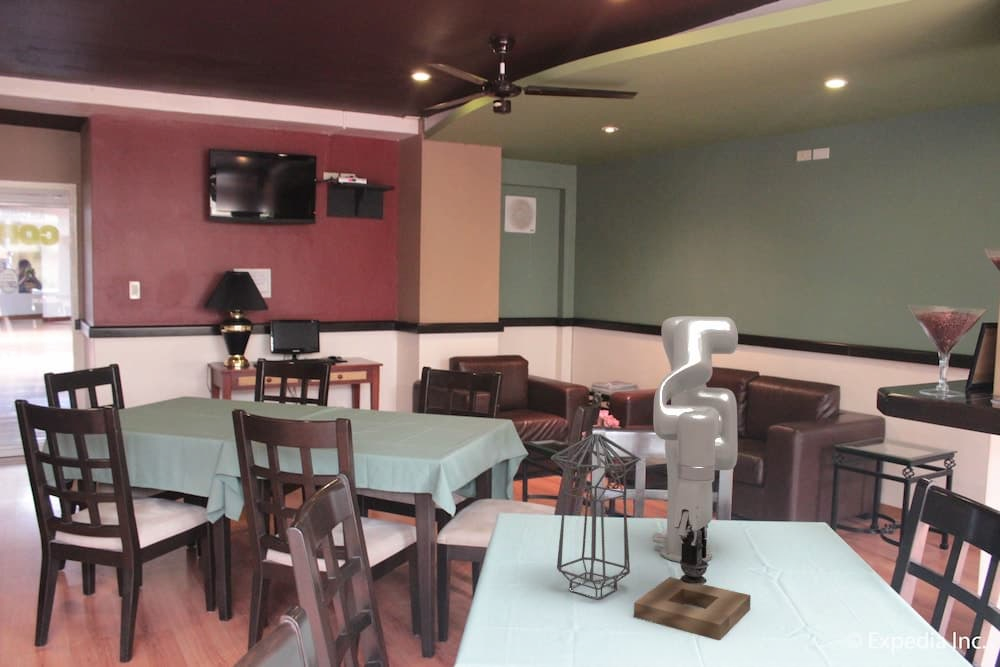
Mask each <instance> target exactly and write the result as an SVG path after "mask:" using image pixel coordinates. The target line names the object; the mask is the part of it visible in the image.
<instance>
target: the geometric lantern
mask: <svg viewBox="0 0 1000 667" xmlns="http://www.w3.org/2000/svg"><path fill="white" fill-rule="evenodd" d="M591 444H592V445H591ZM609 444H610V445H609ZM590 446H591V447H590ZM611 446H613V447H614V448H615V449H618V450H620V451H621V452H623V453H624V454H627V455H628V456H626V455H625V456H624V455H623V456H621V455H619V454H618V453H617V452H616V451H615V449H614V448H612V447H611ZM575 447H577V448H576V449H575V450H574V451H573V452H571V453H570V454H569V455H567V456H566V455H565V456H564V455H563V454H565V453H567V452H568V451H570V450H571V449H573V448H575ZM600 447H601V448H602V451H603V452H600ZM589 448H590V449H589ZM594 449H595V450H594ZM588 452H589V453H590V452H591V454H593V455H594V456H595V457H596V463H597V464H582V463H583V461H584V459H585V458H586V455H587V453H588ZM601 456H602V457H604V459H605V461H604V460H603V458H601ZM578 458H579V460H578ZM550 459H551V461H553V462H554V463H556V464H557V466H558V467H560V468H561V469H562V470H563V472H565V474H566V476H565V484H564V488H563V490H562V509H561V523H560V532H559V541H558V543H559V544H558V551H557V553H558V554H557V560H556V570H558V572H559V573H561V574H562V575H563V577H564V578H566V579H567V580H568V582H569V584H568V585H569V586H568V589H569V588H571V590H573V589H572V587H573V584H574V585H577V584H579V585H578V586H583V587H585V588H586V587H587V588H589V589H594V590H595V596H592V595H589V594H587V593H582V592H581V593H582V594H585V595H588V596H591V597H594V598H602V599H604V598H605V597H607V596H609V595H610V593H611V594H613V593H615V592H616V591H618V590H617V589H618V582H619V581H621V579H623V578H625V577H627V575H629V574H630V573H631V568H630V567H631V566H630V551H629V550H630V549H629V548H630V547H629V534H628V516H627V481H626V476H627V475H626V474H628V472H630V470H632V468H633V467H634V466H636V464H638V462H639V461H642V458H640V457H639V456H637V455H636V454H633V452H630V451H629V450H627V449H625V448H624V447H622V446H621V445H619V444H618V443H616V442H614V441H613V440H611V439H609V438H608V437H606V436H604V435H603V434H601V433H599V434H598V433H592V434H590V435H588V436H587V437H585V438H584V439H583V438H582V440H580V441H578V442H576V443H574V444H572V445H570V446H568V447H566V448H564V449H563V450H561V451H558V452H556V453H555V454H553V455H552V456H551V457H550ZM625 459H626V460H627V459H629V461H627V462H626V463H624V462H623V460H625ZM608 460H609V461H608ZM614 461H616V462H619V464H615V463H614ZM609 462H610V463H609ZM565 463H566V464H567V465H566V464H565ZM602 464H603V465H604V466H602ZM630 464H631V465H630ZM571 465H574V466H571ZM629 465H630V466H629ZM628 466H629V467H628ZM627 467H628V468H627ZM580 468H591V469H589V470H587V471H586V472H584V473H582V474H581V471H580V470H581V469H580ZM599 468H600V469H605V470H604V473H602V476H601V477H600V478H599V480H598V481H597V483H596V484H595V485H588V483H587V482H586V480H585V479H584V477H585V476H587V475H589V474H590V473H592V472H594V471H596V470H598V469H599ZM571 470H576V472H577V473H578V475H577V474H575V475H572V474H571ZM622 470H623V473H622V474H621V475H619V472H621V471H622ZM612 471H615V475H614V473H613V472H612ZM607 473H609V475H610V476H611V477H612V478H611V479H610V480H609V482H608V483H607V485H606V487H602V486H599V485H600V484H601V482H602V481H603V479H604V478H605V476H606V474H607ZM570 478H571V479H573V478H575V479H581V482H582V483H583V485H584V486H580V487H576V488H573V489H569V490H568V483H569V480H570ZM621 479H623V488H622V484H621V483H622V482H621V481H620V480H621ZM613 480H614V481H618V485H619V488H620V490H617V489H612V488H608V487H609V486H610V484H611V482H612V481H613ZM583 489H586V492H585V495H586V496H585V497H583V496H580V495H575V494H571V493H570V492H574V491H578V490H583ZM590 489H594V494H593V493H592V491H591V490H590ZM597 489H599V490H603V491H602V492H601V494H600V495H599V497H598V496H597ZM606 491H610V492H616V493H620V494H621V495H618V496H613V497H609V498H606V499H601V498H602V497H603V495H604V493H605V492H606ZM567 496H569V497H574V498H577V499H581V500H585V507H584V508H585V509H584V521H583V523H584V524H583V538H582V550H581V551H582V552H581V557H580V558H577V559H574V560H571V561H569V562H566V563H563V548H564V547H563V545H564V532H565V531H564V530H565V529H564V528H565V514H566V512H565V511H566V505H567V504H566V503H567V501H566V500H567ZM589 496H590V497H591V498H589ZM597 497H598V498H597ZM620 498H622V500H623V502H622V503H623V504H622V505H623V540H624V541H623V543H624V544H623V546H624V547H623V548H624V554H623V555H624V556H623V558H624V563H623V564H624V565H623V564H620V563H619V564H618V563H615V562H612V561H611V562H610V561H607V560H606V555H605V554H606V551H605V524H604V522H605V519H604V517H605V516H604V502H608V501H611V500H616V499H620ZM589 501H590V502H591V503H592V505H591V506H592V507H591V509H592V510H591V543H590V546H591V549H590V553H591V554H590V555H591V556H590V557H585V551H586V539H587V525H588V524H587V523H588V522H587V521H588V509H589V508H588V507H589ZM597 502H598V503H600V521H601V522H600V526H601V558H602V559H601V558H596V550H597V549H596V548H597V547H596V545H597V544H596V542H597ZM586 560H587V561H590V569H589V571H588V570H587V566H586V563H585V561H586ZM580 561H582V564H583V568H584V572H583V573H580V574H575V573H573V572H570V571H567V570H563V567H568V566H570V565H572V564H575V563H577V562H580ZM595 561H596V562H599V563H602V574H599V573H595V572H594V563H595ZM606 565H611V566H614V567H618V568H622V570H621V571H620V572H619V573H618V574H615V575H611V576H609V575H608V576H607V575H606ZM587 575H589V577H588V578H587ZM568 576H571V577H573V578H570V577H568ZM594 576H596V577H597V576H598V577H601V579H594ZM576 579H580V580H583V581H584V580H586V581H589V582H590V583H592V584H593V586H592V585H588V584H586V583H585V584H584V583H582V584H581V583H580V582H577V581H575V580H576ZM610 580H613V581H611V582H609V583H606V582H608V581H610ZM595 582H599V583H602V584H600V587H597V585H596V583H595ZM604 584H606V585H604ZM609 586H613V587H615V588H613V587H612V588H613V590H611V591H609V592H607V593H606V594H603V589H605V588H607V587H609ZM599 590H600V596H599V597H598V591H599ZM615 590H616V591H615ZM612 592H613V593H612ZM608 594H609V595H608ZM606 595H607V596H606ZM604 596H605V597H604ZM603 597H604V598H603ZM594 598H593V599H594Z"/></svg>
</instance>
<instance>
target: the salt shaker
mask: <svg viewBox="0 0 1000 667" xmlns="http://www.w3.org/2000/svg"><path fill="white" fill-rule="evenodd" d="M691 528H692V527H690V528H688V529H691ZM688 534H690V535H691V537H692V533H690V532H688ZM701 540H702V531H701V529H699V530H697V537H696V545H698V552H697V564H696V565H691V564H686V563H682V561H681V560H680V561H679V562H678V564H680V568H681V571H682V572H683V574H684V575H681V576H680V578H679V579H681V581H682V582H684V583H687V584H693V585H701V584H704V585H706V583H707V582H708V580H707V579H706V578H705V577H704V574H706V572H707V568H708V567H709V564H710V563H709V562H708V561H704V560H703V559H702V547H703V544H702V543H701Z"/></svg>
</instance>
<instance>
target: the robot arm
mask: <svg viewBox="0 0 1000 667" xmlns="http://www.w3.org/2000/svg"><path fill="white" fill-rule="evenodd" d="M661 339H662V340H661V341H662V345H663V348H664V351H665V354H666V357H667V360H668V362H669V365H670V372H669V373H668V374H667V375H666V376H665V377H664V378H663V379H662V380H661V382H660V383H659V385H658V386H657V388H656V389H655V390H656V391H655V392H654V393H655V394H654V399H653V417H652V418H653V430H654V433H655V435H656V436H657V437H658V438H659V439H661V440H664V453H665V460H666V470H667V505H666V506H667V509H666V510H667V512H666V513H667V515H666V518H667V519H666V521H667V522H666V523H667V524H666V533H665V534H664V533H661V532H655V531H654V532H653V533H652V542H653V543H657V544H661V545H662V546H661V547H660V550H659V552H660V555H661V556H662V557H663V558H665V559H667V560H670V561H673V562H676V563H677V562H678V563H679V561H680V560H681V561H682V563H686V564H691V565H696V564H697V552H698V545H696V537H697V530H699V529H701V531H702V540H701V543H702V544H703V547H702V559H703V560H704V561H706V562H708V561H710V560H711V559H712V557H713V552H712V551H711V549H709V548H707V543H708V542H707V538H708V528H709V527H708V526H709V525H708V524H710V523H711V521H712V520H713V504H714V503H713V499H714V497H713V483H714V481H715V472H716V471H730V470H732V469H734V468H735V466H736V465H737V461H738V453H739V452H738V449H739V448H738V447H739V446H738V406H737V399H736V396H735V394H734V392H733V391H732V390H730V389H729V388H724V387H708V386H707V383H708V382H709V381H710V380H711V378H712V375H713V362H712V361H713V359H712V355H732V354H734V353H735V352H736V350H737V348H738V342H739V341H738V340H739V334H738V329H737V325H736V323H735V321H734V320H733V319H732V318H730V317H728V316H697V315H696V316H695V315H693V316H692V315H691V316H689V315H688V316H687V315H686V316H685V315H683V316H674V317H668V318H666V319H665V320H664V321H663V322H662V325H661ZM670 400H671V401H670ZM669 401H670V402H671V403H670V404H667V403H668V402H669ZM690 527H692V528H691V529H688V528H690ZM688 532H690V533H692V537H691V535H690V534H688Z"/></svg>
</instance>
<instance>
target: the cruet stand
mask: <svg viewBox="0 0 1000 667" xmlns="http://www.w3.org/2000/svg"><path fill="white" fill-rule="evenodd" d="M751 597H752V596H751V594H746V593H743V592H738V591H734V590H729V589H726V588H721V587H717V586H712V585H707V584H701V585H693V584H687V583H684V582H682V581H681V579H680V578H676V577H672V576H669V577H668V578H666V579H664V580H663V581H662V582H661V583H659V584H658V585H656V586H655V587H653V588H652V589H651V590H650V591H648V592H647V593H646V594H644V595H642V596H641V597H640V598H639V599H637V600H636V601H634V602H633V617H634V618H636V617H637V618H636V619H639V618H641V619H640V620H643V619H645V620H644V621H647V620H648V621H647V622H650V621H652V623H654V622H656V623H655V624H658V625H662V624H663V625H662V626H665V625H666V627H669V626H670V627H669V628H673V629H676V630H681V631H684V632H688V633H692V634H696V635H699V636H703V637H707V638H711V639H715V640H718V641H720V640H722V638H723V637H724V636H725V635H726V634H727V633H729V631H731V629H732V628H733V627H735V626H736V624H737V623H738V622H739V621H740V620H742V618H743V617H744V616H745V615H746V614H747V613H748V612H749V611H750V610H751ZM682 603H683V604H682ZM687 604H688V605H687ZM690 605H692V606H690ZM694 606H695V607H694ZM702 608H703V609H702Z"/></svg>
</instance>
